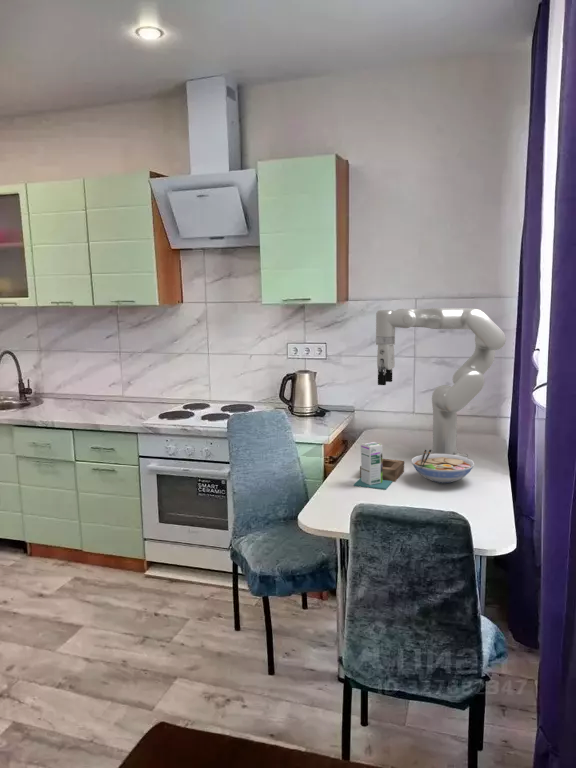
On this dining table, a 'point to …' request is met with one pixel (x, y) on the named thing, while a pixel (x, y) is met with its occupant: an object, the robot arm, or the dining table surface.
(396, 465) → the walnut collar
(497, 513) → the dining table surface
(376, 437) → the dining table surface
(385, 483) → the teal mat
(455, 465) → the ramen bowl
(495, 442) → the dining table surface
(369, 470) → the syrup box
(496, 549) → the dining table surface
